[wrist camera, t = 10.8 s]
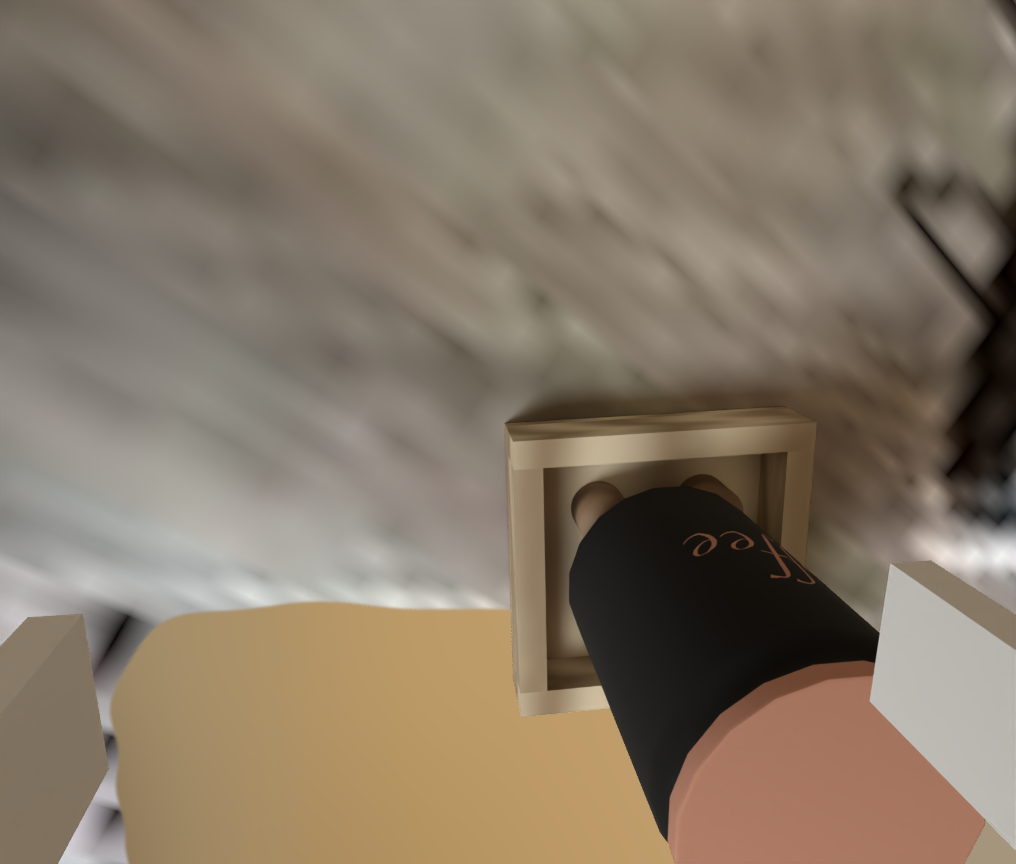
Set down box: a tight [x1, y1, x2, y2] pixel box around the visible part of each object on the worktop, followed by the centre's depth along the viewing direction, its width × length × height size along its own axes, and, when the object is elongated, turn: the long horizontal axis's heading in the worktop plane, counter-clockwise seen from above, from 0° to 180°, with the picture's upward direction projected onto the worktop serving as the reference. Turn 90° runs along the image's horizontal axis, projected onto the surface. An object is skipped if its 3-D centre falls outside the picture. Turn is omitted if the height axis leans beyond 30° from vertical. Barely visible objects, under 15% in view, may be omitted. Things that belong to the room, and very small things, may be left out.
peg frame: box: [505, 406, 817, 717], centre depth 42 cm, size 16×16×4 cm
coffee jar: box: [569, 486, 985, 864], centre depth 32 cm, size 11×11×18 cm
